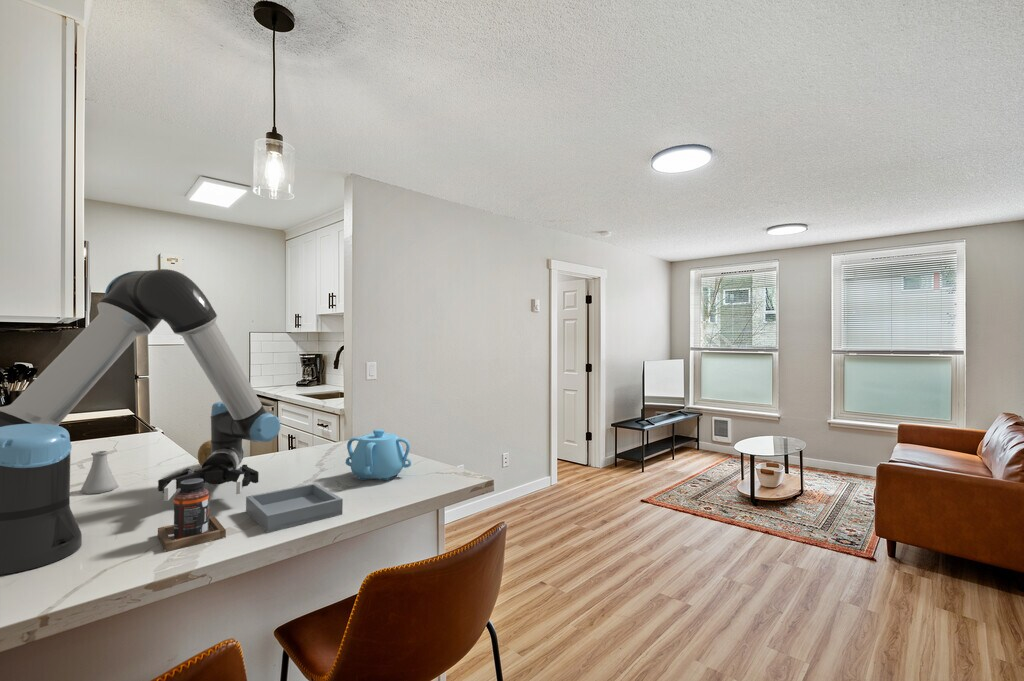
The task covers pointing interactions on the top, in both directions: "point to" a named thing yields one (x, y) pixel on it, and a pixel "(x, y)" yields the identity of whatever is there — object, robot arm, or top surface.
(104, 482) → the flask
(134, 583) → the top surface
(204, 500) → the supplement bottle
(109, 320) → the robot arm
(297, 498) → the tray
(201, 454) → the potato
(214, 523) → the rectangular wooden frame
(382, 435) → the decorative pot
